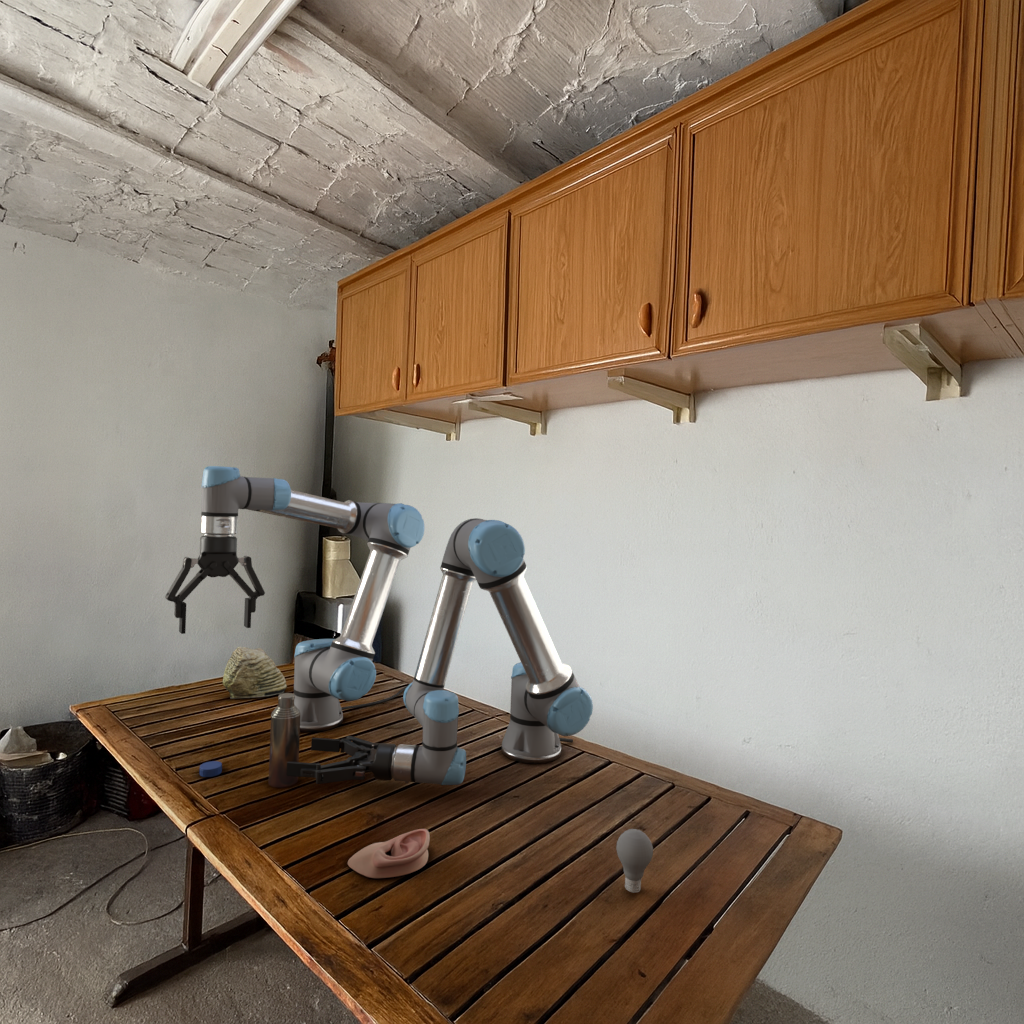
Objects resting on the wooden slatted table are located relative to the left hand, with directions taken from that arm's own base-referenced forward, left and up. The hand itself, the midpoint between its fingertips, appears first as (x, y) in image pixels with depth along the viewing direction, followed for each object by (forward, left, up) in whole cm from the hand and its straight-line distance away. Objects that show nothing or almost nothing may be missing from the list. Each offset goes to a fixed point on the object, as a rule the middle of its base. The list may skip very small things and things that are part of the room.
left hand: (215, 629), depth 142 cm
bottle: (-9, +15, -32) cm, 37 cm away
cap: (0, 0, -31) cm, 31 cm away
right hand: (-11, +18, -26) cm, 34 cm away
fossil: (-35, -44, -32) cm, 65 cm away
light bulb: (-26, +92, -32) cm, 101 cm away
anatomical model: (-4, +56, -32) cm, 65 cm away
